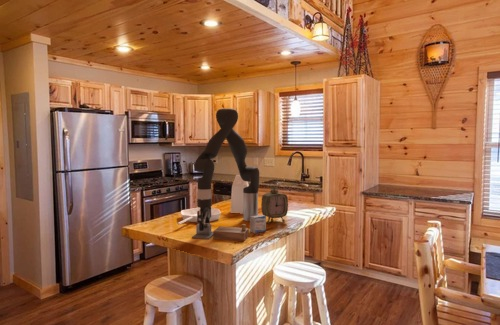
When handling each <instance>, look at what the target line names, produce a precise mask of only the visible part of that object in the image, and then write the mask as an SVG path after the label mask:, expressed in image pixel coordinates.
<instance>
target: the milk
mask: <svg viewBox="0 0 500 325" xmlns="http://www.w3.org/2000/svg"><path fill="white" fill-rule="evenodd" d="M249 185H250V183H249V182H248V181H243V180H242V178H241V176H240V174H235V177H234V180H233V182H232V185H231V194H230V195H231V198H230V213H240V214H239V215H243V189H244V188H245V187H248V186H249Z"/></svg>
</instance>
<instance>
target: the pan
mask: <svg viewBox="0 0 500 325" xmlns="http://www.w3.org/2000/svg"><path fill="white" fill-rule="evenodd" d="M197 211H200V207H193V208H187V209H182V210H180V215H181V217H182V219H183V220H181V221H179V222H177V225H179V226H180V225H181V224H183V223H185V222H186V223H187V222H188V223H197ZM221 215H222V213H221V210H220V209H219V208H212V207H211V217H210V219H209V220H210V222H215V221H218V220H219V218H220V217H221ZM204 223H205V220H204Z"/></svg>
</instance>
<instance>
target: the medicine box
mask: <svg viewBox="0 0 500 325" xmlns="http://www.w3.org/2000/svg"><path fill="white" fill-rule="evenodd" d="M264 231H265V232H266V231H267V216H265V215H263V214H258V215H257V216H250V221H249V233H252V234H259V232H260V233H264Z"/></svg>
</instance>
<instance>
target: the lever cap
mask: <svg viewBox="0 0 500 325" xmlns="http://www.w3.org/2000/svg"><path fill="white" fill-rule="evenodd" d="M195 227H196V228H195V229H196V231H195V233H196V235H208V236H209V235H211V232H212V224H211V223H210V224H209V223H205V222H204V230H203V231H200V230H199V223H197V224H196V226H195Z"/></svg>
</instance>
